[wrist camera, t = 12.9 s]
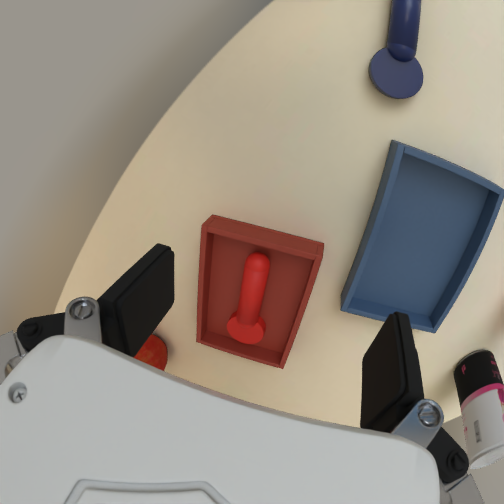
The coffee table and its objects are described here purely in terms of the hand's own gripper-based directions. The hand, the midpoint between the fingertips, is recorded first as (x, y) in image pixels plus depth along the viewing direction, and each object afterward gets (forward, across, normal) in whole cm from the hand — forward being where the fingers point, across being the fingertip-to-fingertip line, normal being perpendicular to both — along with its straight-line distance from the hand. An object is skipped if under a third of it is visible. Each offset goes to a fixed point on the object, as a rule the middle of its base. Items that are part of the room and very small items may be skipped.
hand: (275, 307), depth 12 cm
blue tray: (+16, -11, +1) cm, 19 cm away
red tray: (+16, +3, +13) cm, 20 cm away
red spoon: (+15, +3, +14) cm, 20 cm away
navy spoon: (+16, -5, -16) cm, 23 cm away
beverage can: (+16, -29, +15) cm, 36 cm away
